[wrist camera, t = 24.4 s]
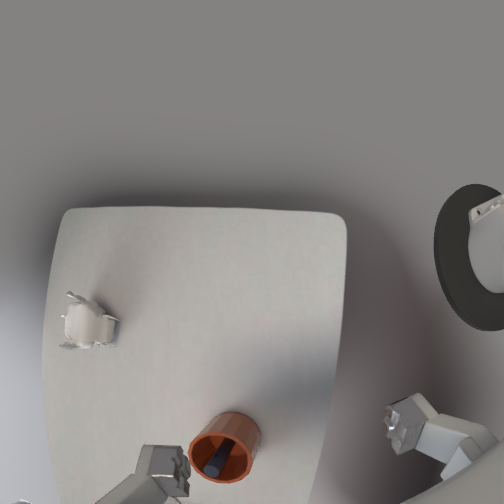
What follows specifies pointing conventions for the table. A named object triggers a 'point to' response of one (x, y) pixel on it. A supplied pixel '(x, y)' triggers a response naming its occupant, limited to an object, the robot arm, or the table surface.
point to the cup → (241, 454)
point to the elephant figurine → (87, 325)
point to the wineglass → (171, 501)
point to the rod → (219, 458)
